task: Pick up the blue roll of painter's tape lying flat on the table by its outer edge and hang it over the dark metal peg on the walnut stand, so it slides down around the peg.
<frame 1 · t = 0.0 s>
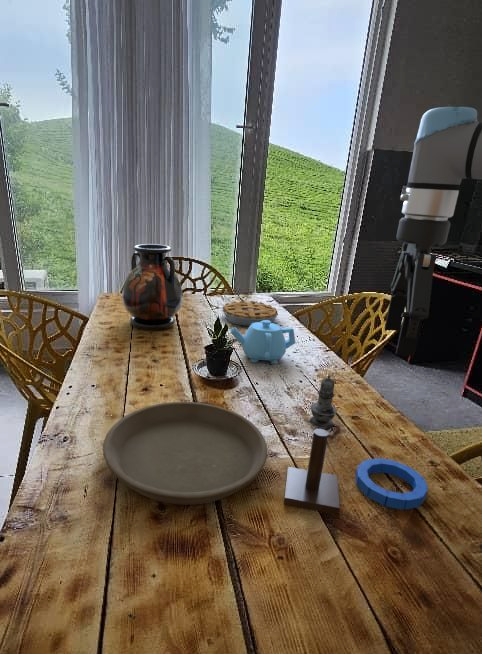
hand: (397, 341, 79), 25 cm above the table, tool pointing down, fingers open, 13 cm apart
plant saucer: (185, 460, 86), on the table
teapot: (260, 358, 137), on the table
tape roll: (389, 486, 81), on the table
pie: (249, 319, 174), on the table
peg stand: (311, 492, 79), on the table
amphora vase: (152, 324, 163), on the table
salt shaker: (321, 423, 102), on the table
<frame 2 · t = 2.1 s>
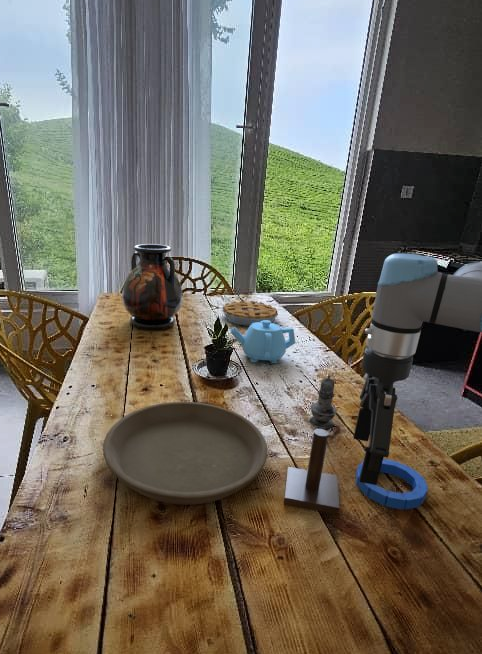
hand: (363, 459, 81), 5 cm above the table, tool pointing down, fingers open, 13 cm apart
nothing on the table moved.
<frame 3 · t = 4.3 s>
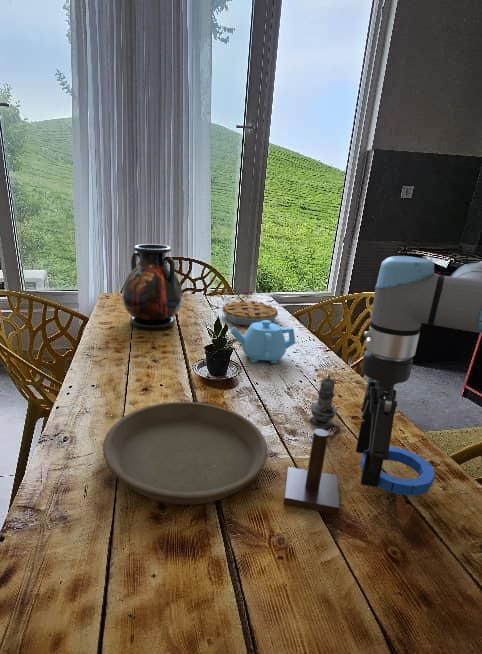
hand: (365, 467, 81), 3 cm above the table, tool pointing down, fingers closed on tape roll, 9 cm apart
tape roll: (395, 473, 80), point 3 cm above the table, touching gripper
everything else where it was.
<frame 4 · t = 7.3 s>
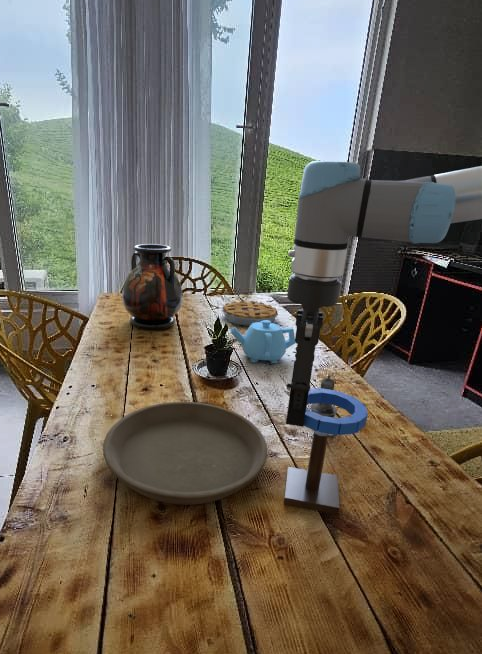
hand: (296, 409, 74), 16 cm above the table, tool pointing down, fingers closed on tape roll, 9 cm apart
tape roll: (327, 415, 73), point 16 cm above the table, touching gripper
everything else where it was.
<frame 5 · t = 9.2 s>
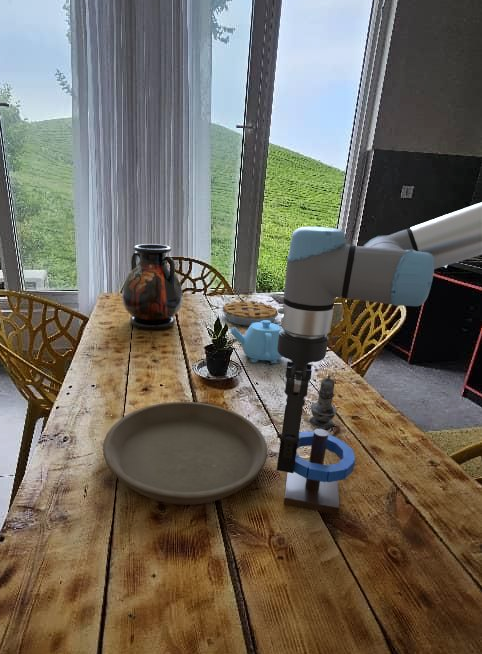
hand: (287, 453, 77), 7 cm above the table, tool pointing down, fingers closed on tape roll, 9 cm apart
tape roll: (316, 459, 76), point 7 cm above the table, touching gripper
everything else where it was.
when the fingers open (4 cm above the table, at t = 10.7 s): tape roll drops 2 cm, resting on peg stand.
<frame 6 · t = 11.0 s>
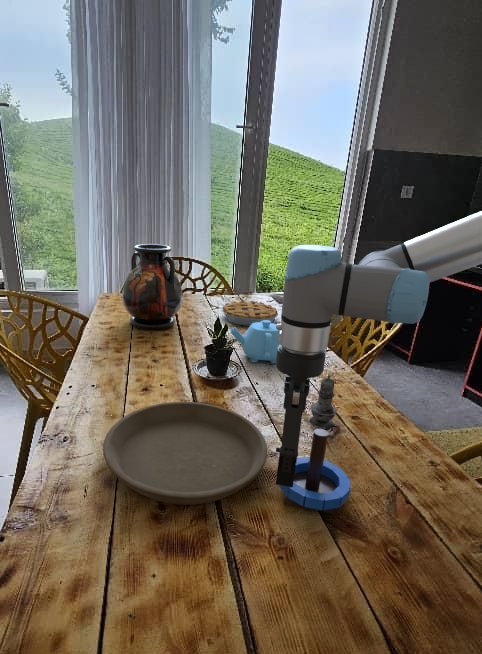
hand: (286, 460, 77), 6 cm above the table, tool pointing down, fingers open, 13 cm apart
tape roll: (313, 486, 78), point 1 cm above the table, touching peg stand
everything else where it was.
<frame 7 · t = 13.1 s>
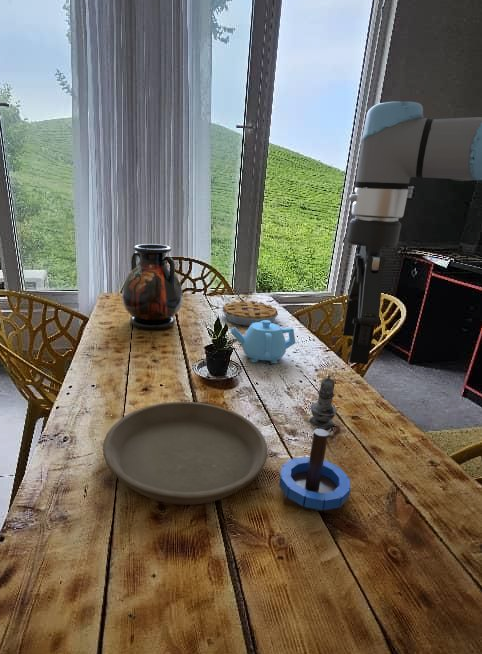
hand: (354, 348, 76), 25 cm above the table, tool pointing down, fingers open, 13 cm apart
nothing on the table moved.
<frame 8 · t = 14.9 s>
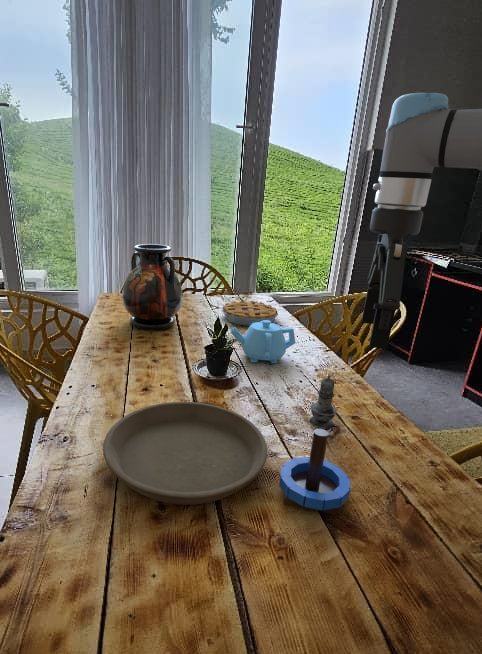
hand: (373, 334, 78), 27 cm above the table, tool pointing down, fingers open, 13 cm apart
nothing on the table moved.
at the end: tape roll 0.2 cm from the peg stand (horizontally); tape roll point 1.5 cm above the table; the gripper is holding nothing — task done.
